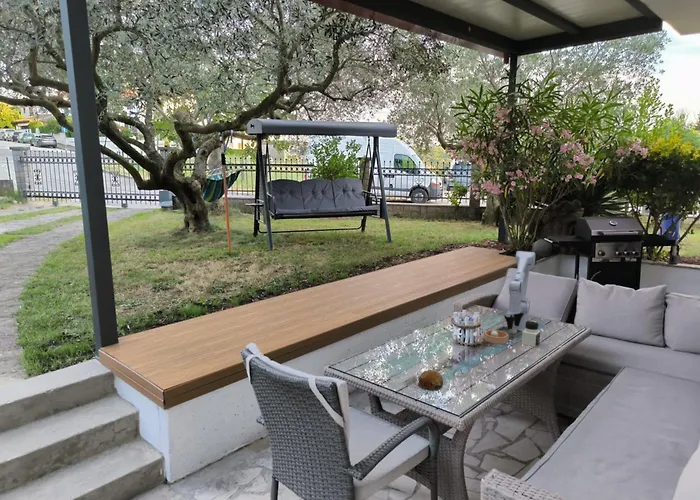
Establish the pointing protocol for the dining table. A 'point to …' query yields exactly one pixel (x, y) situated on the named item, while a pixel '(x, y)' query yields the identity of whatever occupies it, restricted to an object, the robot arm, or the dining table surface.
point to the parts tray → (505, 329)
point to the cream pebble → (494, 333)
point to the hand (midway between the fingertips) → (513, 327)
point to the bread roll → (431, 380)
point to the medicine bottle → (531, 334)
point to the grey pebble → (513, 331)
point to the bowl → (501, 338)
